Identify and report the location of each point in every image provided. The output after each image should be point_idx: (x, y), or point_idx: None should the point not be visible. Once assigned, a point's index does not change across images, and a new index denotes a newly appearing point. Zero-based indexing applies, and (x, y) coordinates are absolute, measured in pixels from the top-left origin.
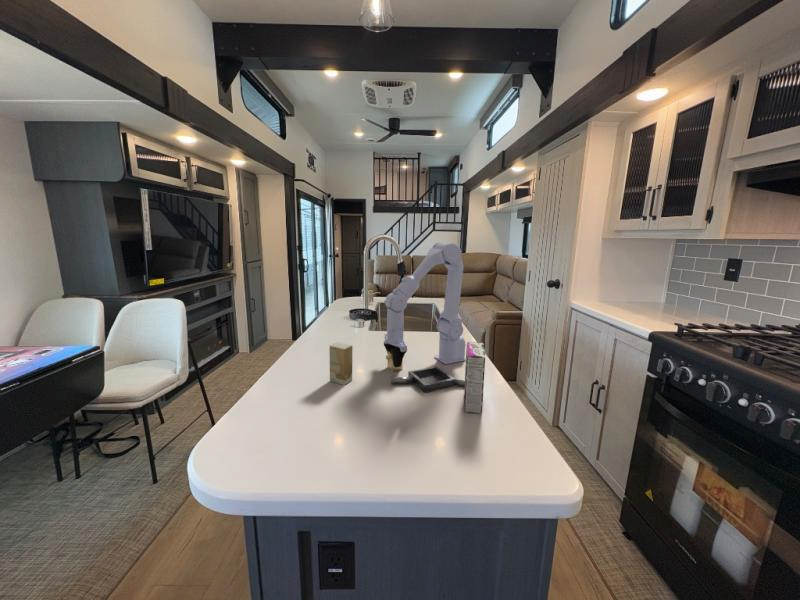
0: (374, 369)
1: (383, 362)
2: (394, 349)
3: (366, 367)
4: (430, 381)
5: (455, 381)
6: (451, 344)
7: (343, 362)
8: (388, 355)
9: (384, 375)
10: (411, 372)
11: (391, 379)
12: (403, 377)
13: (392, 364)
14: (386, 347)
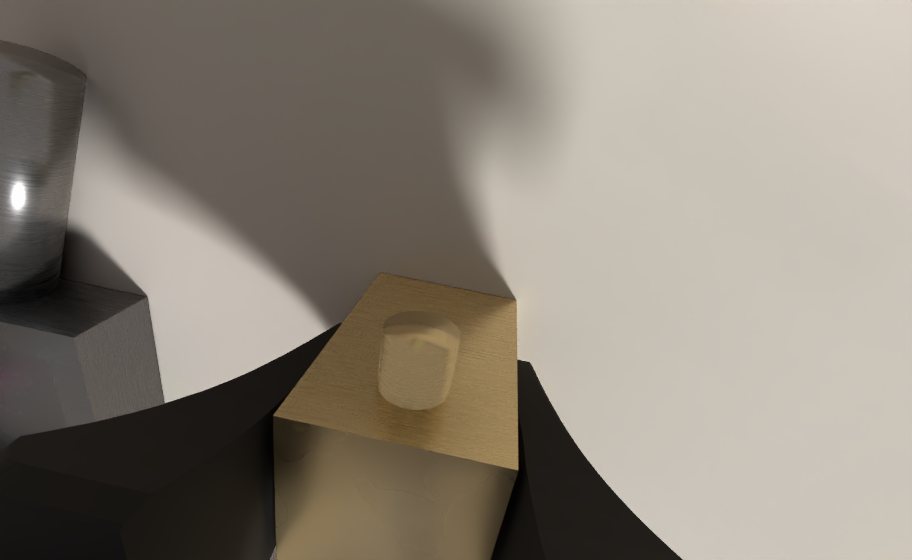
0: (559, 111)
1: (666, 338)
2: (9, 551)
3: (712, 35)
4: (9, 393)
5: None
6: None
7: None
8: (403, 381)
9: (316, 124)
10: (38, 346)
11: (9, 60)
12: None
13: (350, 317)
14: (542, 542)
